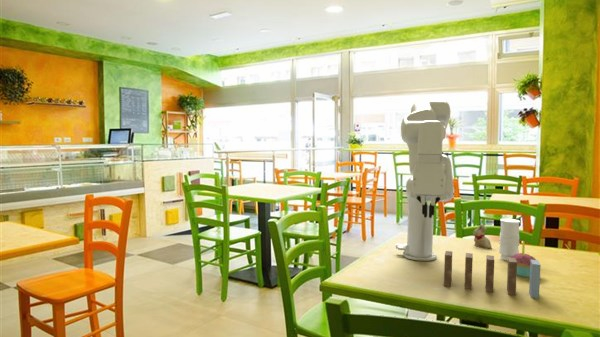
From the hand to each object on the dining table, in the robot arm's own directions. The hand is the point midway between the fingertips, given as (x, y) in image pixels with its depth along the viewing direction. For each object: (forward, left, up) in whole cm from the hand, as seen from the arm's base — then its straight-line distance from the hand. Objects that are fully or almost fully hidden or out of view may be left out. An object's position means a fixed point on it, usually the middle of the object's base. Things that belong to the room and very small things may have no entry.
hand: (428, 216), depth 131 cm
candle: (+27, +39, -21) cm, 52 cm away
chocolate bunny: (+18, +55, -21) cm, 62 cm away
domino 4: (+25, 0, -21) cm, 32 cm away
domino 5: (+31, 0, -21) cm, 37 cm away
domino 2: (+13, 0, -21) cm, 25 cm away
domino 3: (+19, 0, -21) cm, 28 cm away
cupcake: (+30, +20, -21) cm, 42 cm away
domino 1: (+7, 0, -21) cm, 22 cm away
